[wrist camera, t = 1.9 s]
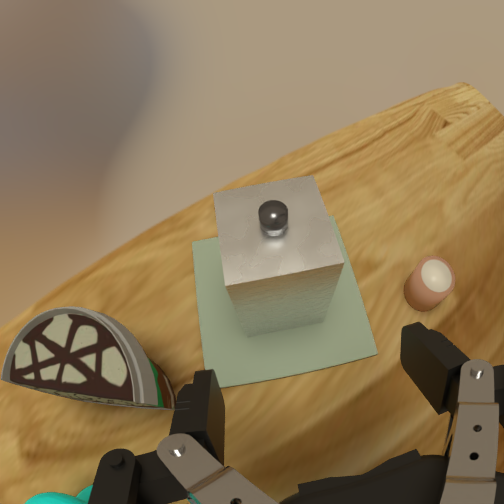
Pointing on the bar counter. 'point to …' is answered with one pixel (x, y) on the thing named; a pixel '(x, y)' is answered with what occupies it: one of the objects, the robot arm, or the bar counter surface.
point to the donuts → (61, 498)
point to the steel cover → (277, 254)
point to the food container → (86, 361)
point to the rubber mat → (278, 343)
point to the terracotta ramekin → (429, 283)
